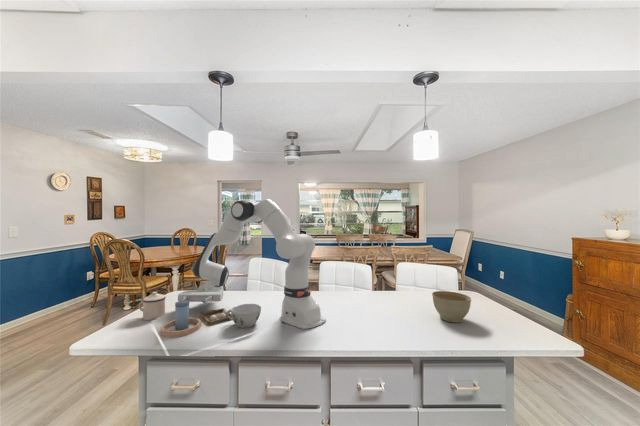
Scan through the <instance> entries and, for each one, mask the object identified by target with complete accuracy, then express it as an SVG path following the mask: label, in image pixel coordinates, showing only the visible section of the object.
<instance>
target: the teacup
mask: <svg viewBox="0 0 640 426" xmlns="http://www.w3.org/2000/svg"><path fill="white" fill-rule="evenodd" d="M261 310H262V306H261V305H259V304H256V303H244V304H239V305H237V306H233V307H231V309H228V310H227V311H228V312H227V316H228V318H229V319H230V320H229V321H233V323H234V324H235V325H236V326H237V328H241V329H247V328H251V327H253V326H254V325H256V323H257V322H258V320H259V318H260V315H261ZM229 313H231V315H232V318H231V317H230V316H229Z"/></svg>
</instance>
